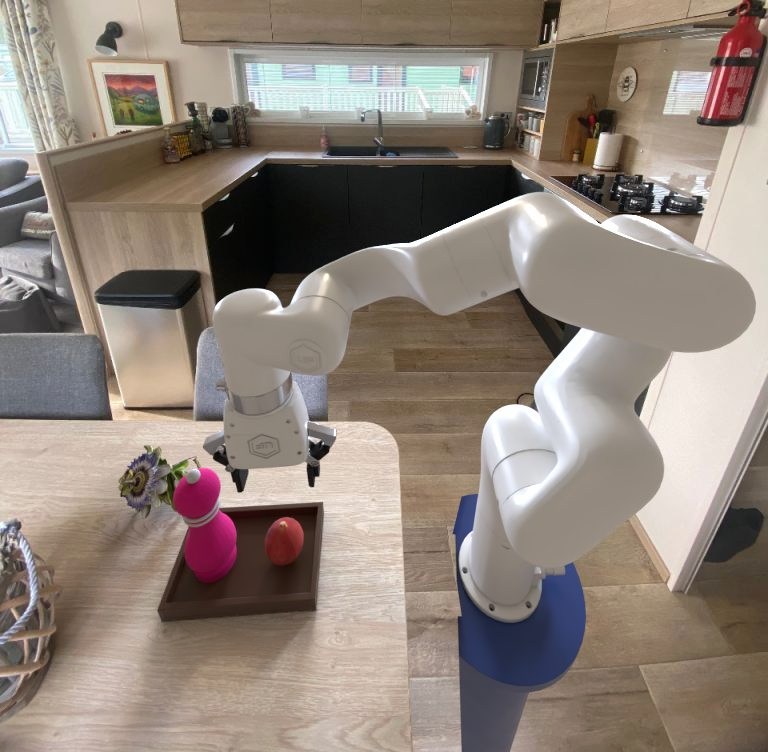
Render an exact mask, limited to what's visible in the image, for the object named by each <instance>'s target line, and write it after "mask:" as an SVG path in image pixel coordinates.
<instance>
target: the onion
mask: <svg viewBox="0 0 768 752" xmlns="http://www.w3.org/2000/svg"><path fill="white" fill-rule="evenodd" d="M303 541H304V536H303V530H302V528H301V526H300V524H299V523H298V522H297V521H296V520H295V519H293V518H289V517H284V518H280V519H279V520H277V521H275V522H274V523H273V525H272V526H271V527H270V528H269V530H268V533H267V535H266V538H265V552H266V554H267V556H268V558H269V560H270V561H271V562H273V563H274V564H275V565H281V566H283V565H287V564H290V563H291V562H293V561H294V560H295V559H296V558H297V556H298V555H299V554H300V552H301V550H302V546H303Z"/></svg>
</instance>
